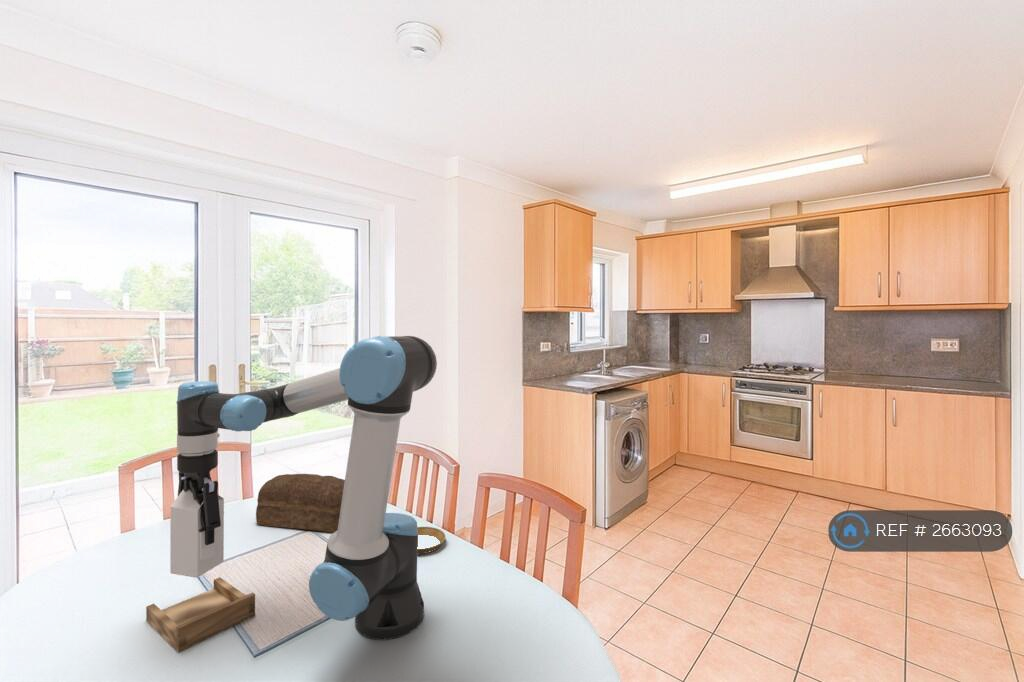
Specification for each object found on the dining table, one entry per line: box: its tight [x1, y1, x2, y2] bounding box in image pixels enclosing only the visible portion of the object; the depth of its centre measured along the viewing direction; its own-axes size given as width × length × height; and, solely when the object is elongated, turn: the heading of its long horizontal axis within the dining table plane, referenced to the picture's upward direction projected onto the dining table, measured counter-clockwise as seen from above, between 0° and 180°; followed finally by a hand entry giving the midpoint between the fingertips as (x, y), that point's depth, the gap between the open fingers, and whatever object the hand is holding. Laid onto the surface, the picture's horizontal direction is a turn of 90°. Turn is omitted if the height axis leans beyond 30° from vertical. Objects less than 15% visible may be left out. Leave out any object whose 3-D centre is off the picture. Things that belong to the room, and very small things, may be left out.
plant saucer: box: [417, 526, 446, 554], centre depth 142 cm, size 15×15×3 cm
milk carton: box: [169, 489, 225, 579], centre depth 105 cm, size 7×7×19 cm
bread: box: [255, 473, 345, 534], centre depth 156 cm, size 15×32×16 cm, turn 80°
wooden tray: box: [145, 576, 256, 654], centre depth 105 cm, size 17×15×5 cm
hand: (197, 550), depth 105 cm, fingers closed on milk carton, 9 cm apart
